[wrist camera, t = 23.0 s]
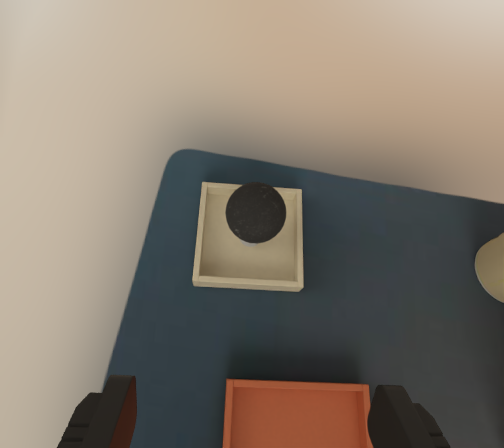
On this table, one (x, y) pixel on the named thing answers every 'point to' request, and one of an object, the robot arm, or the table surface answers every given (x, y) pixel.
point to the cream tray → (247, 258)
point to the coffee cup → (491, 267)
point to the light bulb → (255, 213)
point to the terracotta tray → (295, 414)
